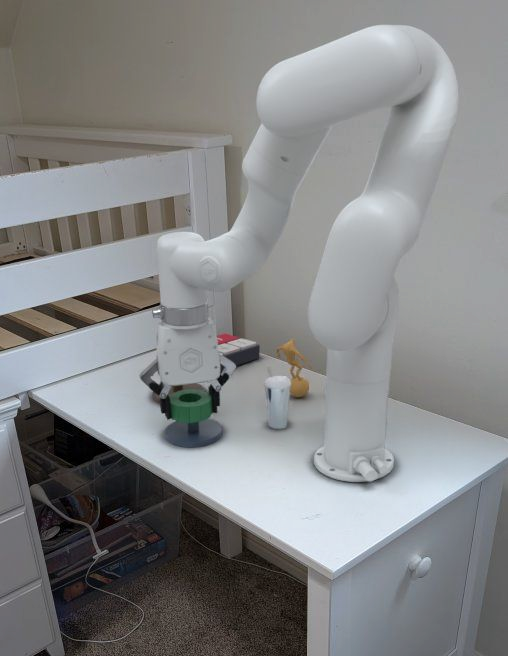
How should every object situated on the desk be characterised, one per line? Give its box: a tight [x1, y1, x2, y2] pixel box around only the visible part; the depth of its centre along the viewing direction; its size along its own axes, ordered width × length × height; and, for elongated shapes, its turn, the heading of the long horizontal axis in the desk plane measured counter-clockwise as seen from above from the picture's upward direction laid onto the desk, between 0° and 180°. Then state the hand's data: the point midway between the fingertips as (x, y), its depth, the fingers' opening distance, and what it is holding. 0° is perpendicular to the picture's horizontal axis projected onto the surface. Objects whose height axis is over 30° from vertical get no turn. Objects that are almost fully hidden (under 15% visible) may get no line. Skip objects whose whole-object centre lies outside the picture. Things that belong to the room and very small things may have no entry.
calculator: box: [217, 333, 261, 373], centre depth 160 cm, size 11×4×15 cm
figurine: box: [276, 338, 312, 398], centre depth 140 cm, size 8×6×12 cm
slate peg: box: [164, 418, 223, 448], centre depth 129 cm, size 10×10×6 cm
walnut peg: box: [152, 383, 205, 404], centre depth 144 cm, size 10×10×6 cm
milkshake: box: [264, 366, 291, 430], centre depth 130 cm, size 4×5×10 cm
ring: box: [169, 389, 214, 423], centre depth 128 cm, size 7×7×3 cm
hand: (190, 412), depth 129 cm, fingers closed on ring, 7 cm apart
